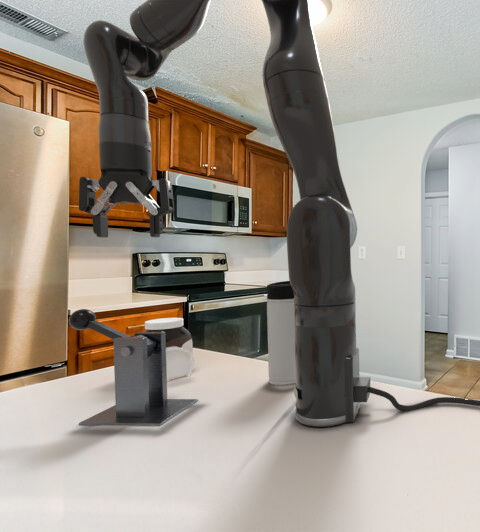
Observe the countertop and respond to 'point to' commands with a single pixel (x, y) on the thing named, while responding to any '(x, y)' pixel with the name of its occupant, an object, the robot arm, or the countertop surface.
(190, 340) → the spread jar
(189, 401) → the bracket
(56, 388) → the countertop surface
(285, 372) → the travel mug
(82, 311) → the tap lever
